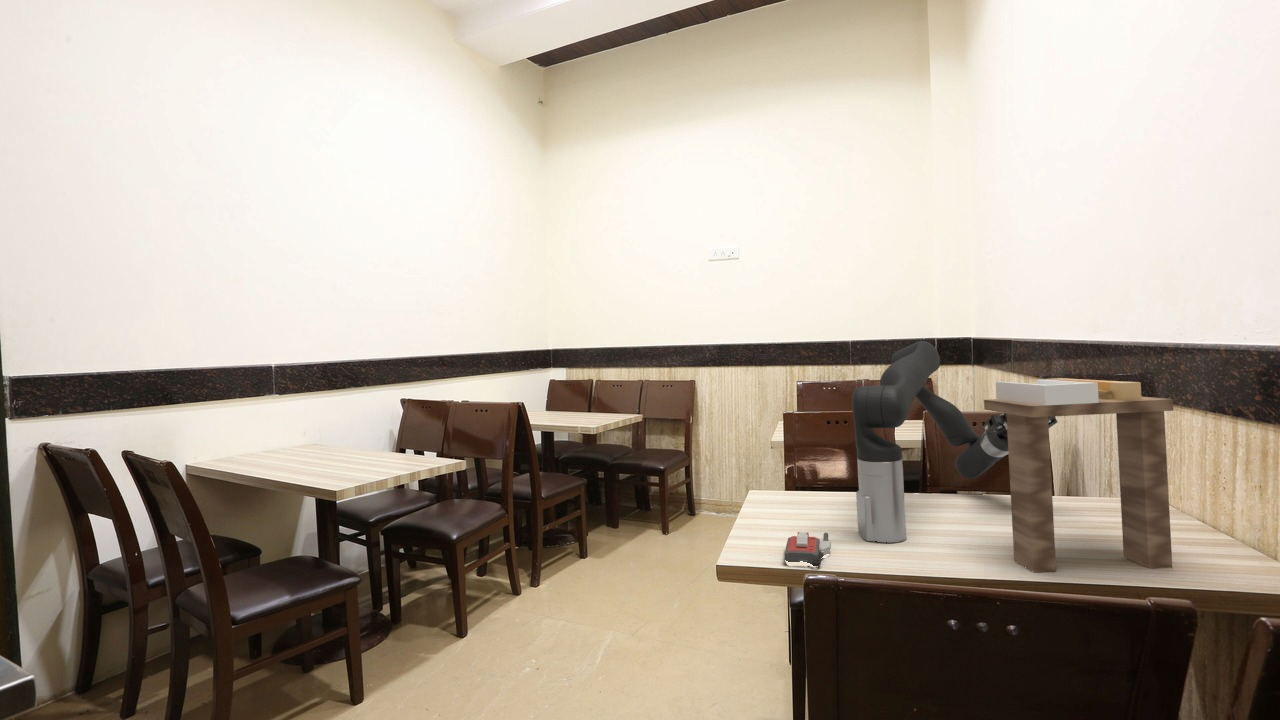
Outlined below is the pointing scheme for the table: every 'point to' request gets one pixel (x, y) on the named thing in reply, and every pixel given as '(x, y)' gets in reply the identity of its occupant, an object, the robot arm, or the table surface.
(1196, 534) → the table surface
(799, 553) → the walkie-talkie
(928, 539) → the table surface
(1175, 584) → the table surface
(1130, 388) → the tan wooden bar
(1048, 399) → the tray
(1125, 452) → the shelf
